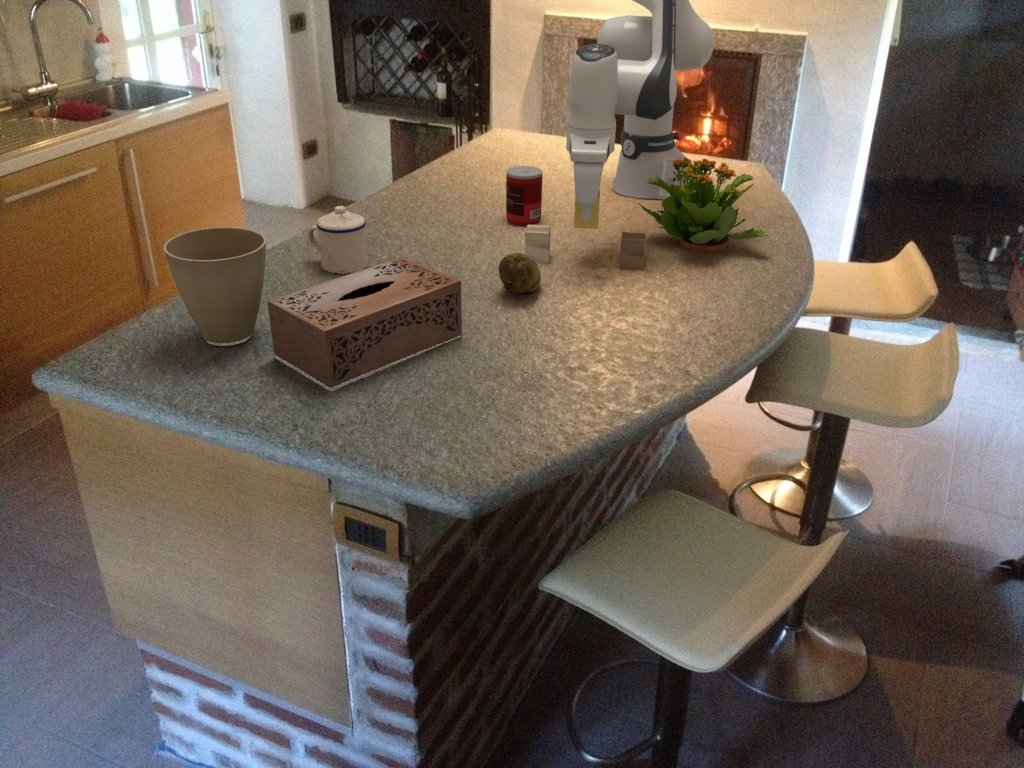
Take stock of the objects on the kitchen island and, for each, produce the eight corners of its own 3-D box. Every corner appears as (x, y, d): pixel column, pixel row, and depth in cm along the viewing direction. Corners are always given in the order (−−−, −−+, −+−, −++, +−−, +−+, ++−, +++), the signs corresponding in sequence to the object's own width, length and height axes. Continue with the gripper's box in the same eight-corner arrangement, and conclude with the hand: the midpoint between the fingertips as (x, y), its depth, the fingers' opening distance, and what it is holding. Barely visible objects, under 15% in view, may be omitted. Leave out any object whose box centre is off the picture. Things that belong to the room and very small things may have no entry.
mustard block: (575, 219, 173) (576, 189, 170) (598, 220, 173) (600, 190, 170) (574, 227, 169) (575, 197, 166) (597, 228, 169) (599, 198, 166)
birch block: (527, 253, 178) (527, 224, 175) (549, 254, 178) (550, 225, 175) (524, 261, 174) (525, 232, 171) (547, 263, 174) (548, 233, 171)
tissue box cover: (404, 311, 154) (401, 256, 149) (462, 338, 145) (461, 280, 140) (275, 360, 137) (267, 301, 132) (331, 393, 129) (324, 331, 124)
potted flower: (787, 246, 183) (802, 161, 175) (726, 277, 168) (739, 186, 160) (684, 217, 198) (693, 138, 190) (620, 244, 183) (626, 159, 174)
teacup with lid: (377, 261, 173) (373, 203, 167) (353, 278, 166) (348, 217, 160) (324, 252, 177) (318, 195, 171) (298, 268, 169) (291, 209, 164)
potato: (557, 284, 164) (559, 242, 161) (524, 309, 155) (525, 265, 151) (518, 275, 168) (518, 234, 164) (483, 299, 158) (482, 256, 154)
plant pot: (227, 366, 135) (210, 268, 127) (161, 342, 142) (142, 247, 134) (297, 331, 146) (286, 238, 138) (232, 310, 153) (219, 220, 145)
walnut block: (619, 261, 175) (621, 231, 172) (642, 262, 175) (645, 232, 172) (619, 269, 171) (621, 239, 168) (643, 270, 171) (646, 240, 168)
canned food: (542, 215, 198) (543, 166, 193) (539, 227, 191) (541, 176, 186) (508, 213, 199) (508, 164, 194) (504, 225, 192) (504, 175, 187)
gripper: (576, 125, 172) (573, 195, 179) (570, 154, 155) (567, 231, 161) (609, 127, 172) (604, 197, 179) (606, 156, 154) (602, 232, 161)
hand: (586, 213), depth 170 cm, fingers closed on mustard block, 4 cm apart
